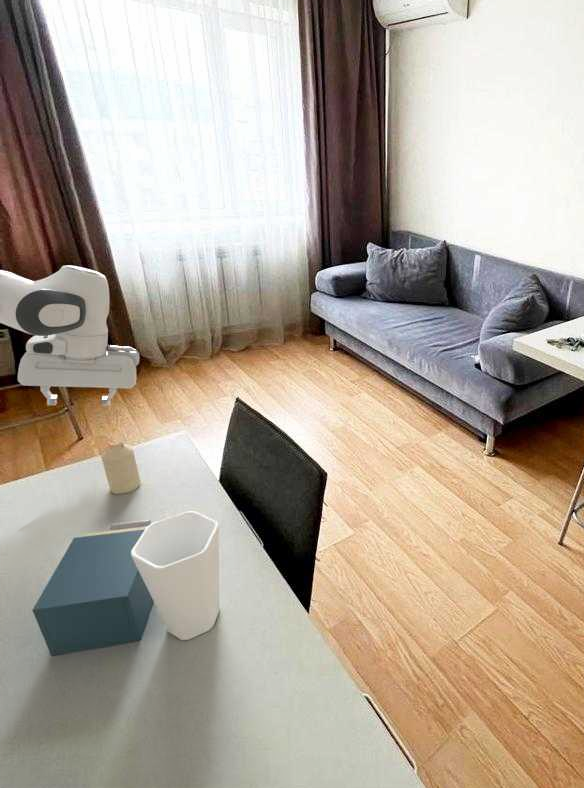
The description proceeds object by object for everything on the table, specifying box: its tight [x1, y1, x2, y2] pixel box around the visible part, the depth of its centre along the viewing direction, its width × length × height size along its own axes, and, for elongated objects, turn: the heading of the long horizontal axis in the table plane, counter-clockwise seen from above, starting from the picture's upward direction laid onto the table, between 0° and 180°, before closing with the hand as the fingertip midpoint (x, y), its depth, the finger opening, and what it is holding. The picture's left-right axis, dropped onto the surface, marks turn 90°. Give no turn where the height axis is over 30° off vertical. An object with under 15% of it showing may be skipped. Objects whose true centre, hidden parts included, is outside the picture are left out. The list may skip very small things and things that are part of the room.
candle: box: [100, 442, 141, 495], centre depth 103 cm, size 6×6×10 cm
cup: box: [131, 510, 221, 641], centre depth 74 cm, size 11×10×17 cm
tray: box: [82, 519, 152, 537], centre depth 81 cm, size 17×10×8 cm, turn 14°
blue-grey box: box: [32, 529, 155, 657], centre depth 77 cm, size 14×12×10 cm
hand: (79, 404), depth 107 cm, fingers open, 8 cm apart
